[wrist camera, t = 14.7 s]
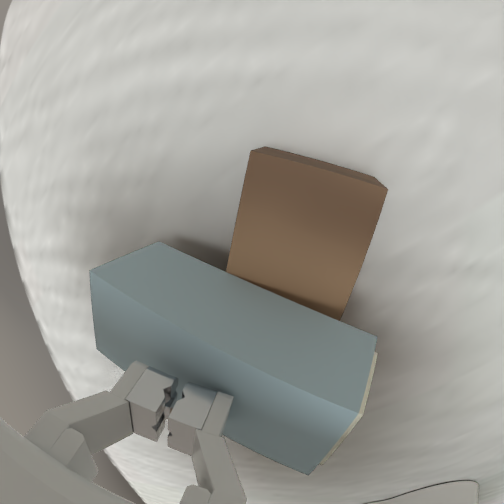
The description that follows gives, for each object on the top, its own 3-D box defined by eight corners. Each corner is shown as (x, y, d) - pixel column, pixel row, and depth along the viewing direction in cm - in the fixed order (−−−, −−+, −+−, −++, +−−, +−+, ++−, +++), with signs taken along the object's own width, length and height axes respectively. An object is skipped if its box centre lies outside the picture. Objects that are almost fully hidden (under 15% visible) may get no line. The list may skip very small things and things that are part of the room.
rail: (282, 413, 19) (275, 447, 17) (212, 392, 20) (198, 424, 17) (373, 176, 13) (387, 189, 10) (264, 146, 13) (250, 150, 11)
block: (154, 312, 15) (343, 406, 12) (97, 349, 12) (314, 477, 9) (159, 241, 14) (383, 339, 10) (89, 270, 10) (366, 416, 7)
